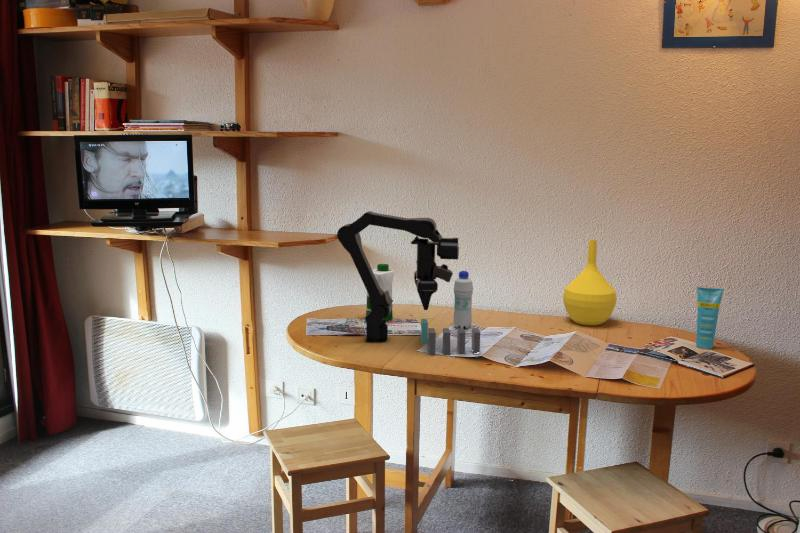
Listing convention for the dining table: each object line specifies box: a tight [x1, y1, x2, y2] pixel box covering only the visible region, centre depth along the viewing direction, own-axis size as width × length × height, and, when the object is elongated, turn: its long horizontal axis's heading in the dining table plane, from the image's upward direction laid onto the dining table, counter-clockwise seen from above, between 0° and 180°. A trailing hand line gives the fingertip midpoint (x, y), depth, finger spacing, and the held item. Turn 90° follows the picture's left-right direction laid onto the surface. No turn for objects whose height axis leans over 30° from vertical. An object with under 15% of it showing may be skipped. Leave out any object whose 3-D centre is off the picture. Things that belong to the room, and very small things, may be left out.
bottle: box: [453, 270, 474, 330], centre depth 233 cm, size 7×7×20 cm
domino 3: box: [442, 327, 451, 356], centre depth 207 cm, size 2×5×7 cm, turn 2°
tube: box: [695, 286, 724, 350], centre depth 212 cm, size 7×5×19 cm, turn 73°
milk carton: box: [365, 263, 395, 322], centre depth 242 cm, size 9×9×20 cm
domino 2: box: [427, 327, 437, 356], centre depth 206 cm, size 2×5×7 cm, turn 2°
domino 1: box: [420, 318, 429, 345], centre depth 217 cm, size 2×5×7 cm, turn 2°
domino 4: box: [456, 327, 466, 355], centre depth 207 cm, size 2×5×7 cm, turn 2°
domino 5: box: [471, 327, 481, 353], centre depth 207 cm, size 2×5×7 cm, turn 2°
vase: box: [562, 238, 617, 327], centre depth 240 cm, size 18×18×30 cm
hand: (424, 306), depth 216 cm, fingers open, 9 cm apart
